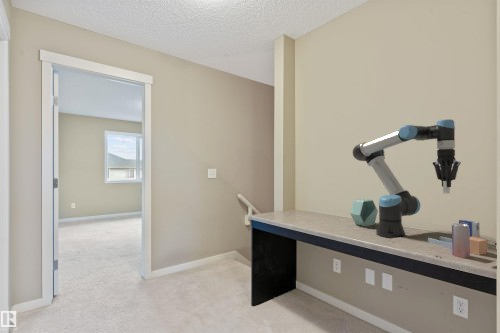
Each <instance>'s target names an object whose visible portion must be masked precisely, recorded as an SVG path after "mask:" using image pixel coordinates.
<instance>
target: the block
mask: <svg viewBox="0 0 500 333" xmlns="http://www.w3.org/2000/svg"><path fill="white" fill-rule="evenodd" d="M488 251H489V250H488V239H484V238H476V237H470V254H474V255H478V256H482V255H487V254H488Z"/></svg>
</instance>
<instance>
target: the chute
mask: <svg viewBox="0 0 500 333" xmlns="http://www.w3.org/2000/svg"><path fill="white" fill-rule="evenodd" d="M427 242H428V243H430V244H432V245H436V246H439V247H440V246H441V247H443V248H446V249H447V248H448V249H450V250H452V238H450V237H445V236H443V235H441V236H439V240H438V239H436V238H431V237H427Z"/></svg>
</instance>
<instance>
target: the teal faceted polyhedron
mask: <svg viewBox="0 0 500 333" xmlns="http://www.w3.org/2000/svg"><path fill="white" fill-rule="evenodd" d="M378 213H379V209H378V208H377V206H376V204H375V201H374V200H373V199H368V198H367V199H365V198H360V199H353V202H352V206H351V211H350V216H351V218H352V219H353V220H352V221H353V222H354V224H355V225H356V226H362V227H369V226H375V223H376V220H377V216H378Z"/></svg>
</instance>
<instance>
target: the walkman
mask: <svg viewBox="0 0 500 333" xmlns="http://www.w3.org/2000/svg"><path fill="white" fill-rule="evenodd" d="M458 224H466V225H469V228H470V237H476V238H480V233H481V232H480V222H477V221H471V220H465V219H459V220H458ZM480 239H481V238H480Z"/></svg>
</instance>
